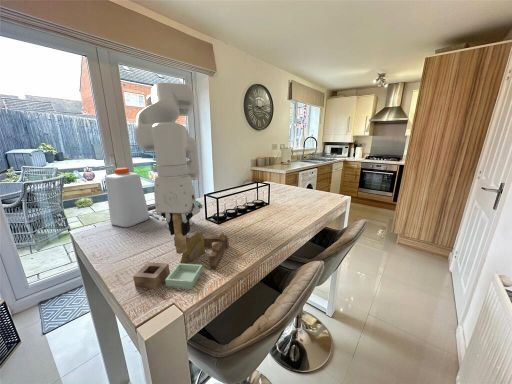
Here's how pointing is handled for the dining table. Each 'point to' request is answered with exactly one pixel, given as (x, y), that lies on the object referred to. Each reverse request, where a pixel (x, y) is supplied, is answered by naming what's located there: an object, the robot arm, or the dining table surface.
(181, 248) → the dowel
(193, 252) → the rock
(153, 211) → the cutlery set
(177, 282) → the tray
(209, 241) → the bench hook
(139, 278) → the holder
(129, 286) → the dining table surface
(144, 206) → the plastic bottle
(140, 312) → the dining table surface
